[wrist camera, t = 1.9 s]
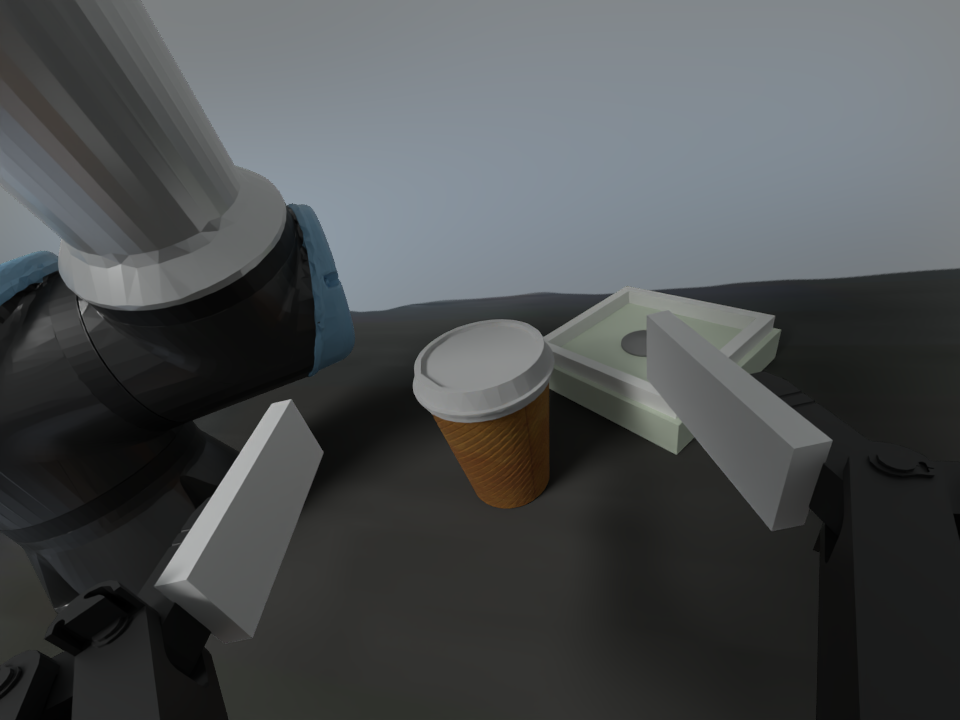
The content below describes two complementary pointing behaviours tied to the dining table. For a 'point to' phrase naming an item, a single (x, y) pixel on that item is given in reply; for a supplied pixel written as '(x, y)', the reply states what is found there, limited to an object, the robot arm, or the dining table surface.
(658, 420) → the square rimmed tray
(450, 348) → the disposable coffee cup
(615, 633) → the dining table surface
